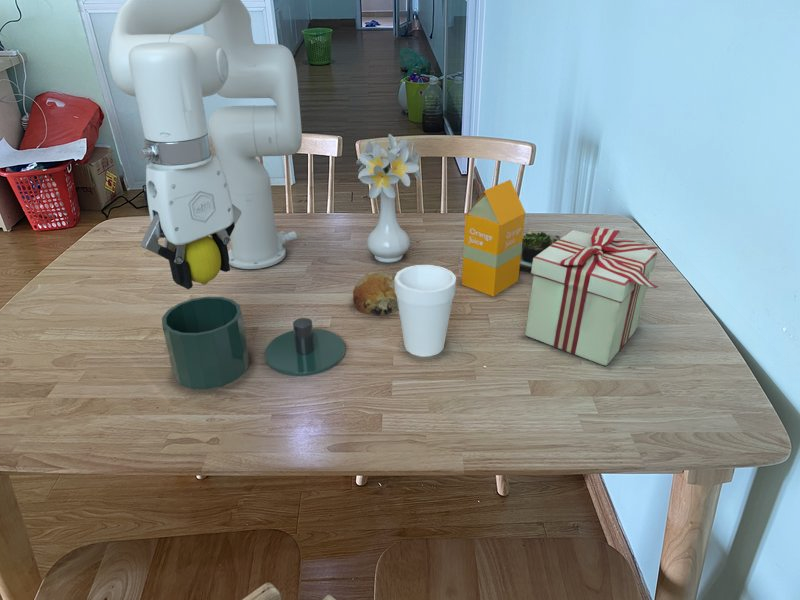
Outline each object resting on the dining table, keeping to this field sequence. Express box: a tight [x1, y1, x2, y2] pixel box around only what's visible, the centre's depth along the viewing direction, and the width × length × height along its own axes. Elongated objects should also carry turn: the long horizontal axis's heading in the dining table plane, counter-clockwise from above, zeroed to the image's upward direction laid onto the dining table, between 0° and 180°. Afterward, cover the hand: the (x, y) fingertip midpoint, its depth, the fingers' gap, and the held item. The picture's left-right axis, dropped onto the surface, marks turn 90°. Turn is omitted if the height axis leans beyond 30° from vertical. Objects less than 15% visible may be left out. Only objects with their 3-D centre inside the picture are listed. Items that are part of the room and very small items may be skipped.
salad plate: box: [519, 230, 564, 273], centre depth 130 cm, size 19×18×5 cm
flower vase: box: [355, 133, 422, 264], centre depth 123 cm, size 13×18×25 cm
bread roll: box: [352, 271, 399, 316], centre depth 111 cm, size 10×10×8 cm
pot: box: [161, 296, 250, 390], centre depth 91 cm, size 11×11×10 cm
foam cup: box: [394, 264, 457, 358], centre depth 96 cm, size 10×9×13 cm
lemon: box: [184, 235, 221, 286], centre depth 83 cm, size 6×6×8 cm
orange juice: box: [461, 179, 526, 297], centre depth 114 cm, size 8×9×20 cm
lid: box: [264, 317, 346, 377], centre depth 96 cm, size 13×13×6 cm
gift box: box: [524, 226, 660, 367], centre depth 98 cm, size 17×18×17 cm
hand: (203, 276), depth 85 cm, fingers closed on lemon, 5 cm apart
